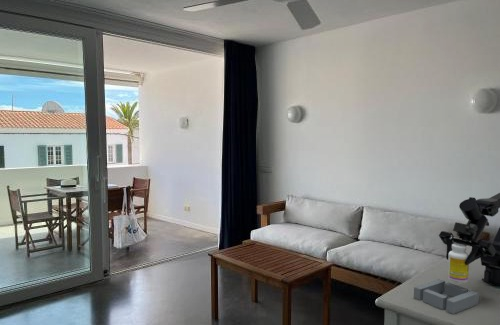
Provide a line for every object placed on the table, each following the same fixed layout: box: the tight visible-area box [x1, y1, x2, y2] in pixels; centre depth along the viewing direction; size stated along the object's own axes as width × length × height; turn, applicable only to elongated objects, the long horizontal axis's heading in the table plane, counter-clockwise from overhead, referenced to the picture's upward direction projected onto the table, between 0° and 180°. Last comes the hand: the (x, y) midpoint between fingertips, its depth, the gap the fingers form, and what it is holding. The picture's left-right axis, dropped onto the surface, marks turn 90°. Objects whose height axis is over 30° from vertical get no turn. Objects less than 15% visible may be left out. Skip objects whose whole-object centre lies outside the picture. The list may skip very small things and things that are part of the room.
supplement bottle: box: [447, 243, 470, 284], centre depth 142 cm, size 7×7×13 cm
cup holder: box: [413, 278, 480, 315], centre depth 139 cm, size 15×15×4 cm
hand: (456, 261), depth 141 cm, fingers closed on supplement bottle, 7 cm apart
